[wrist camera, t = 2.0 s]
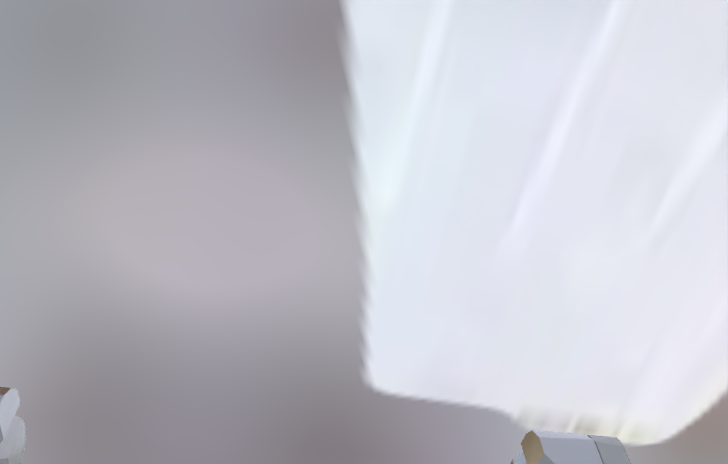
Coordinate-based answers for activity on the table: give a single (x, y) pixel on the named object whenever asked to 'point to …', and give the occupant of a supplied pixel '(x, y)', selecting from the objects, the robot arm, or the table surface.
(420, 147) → the table surface
